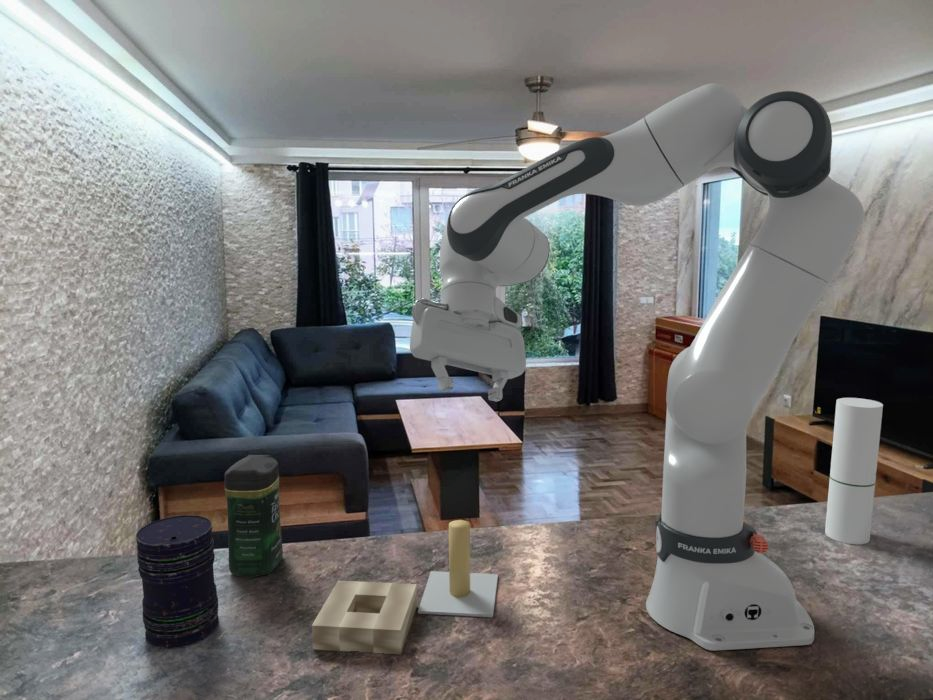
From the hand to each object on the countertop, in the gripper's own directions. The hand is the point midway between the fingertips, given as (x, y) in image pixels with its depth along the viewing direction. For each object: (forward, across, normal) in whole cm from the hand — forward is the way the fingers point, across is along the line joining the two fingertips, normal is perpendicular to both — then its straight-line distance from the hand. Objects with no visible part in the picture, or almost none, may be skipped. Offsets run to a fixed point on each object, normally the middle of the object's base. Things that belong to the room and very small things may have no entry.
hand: (471, 395), depth 103 cm
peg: (+27, +6, +12) cm, 31 cm away
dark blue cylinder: (+32, -29, +30) cm, 53 cm away
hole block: (+32, -8, +14) cm, 36 cm away
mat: (+28, +6, +12) cm, 31 cm away
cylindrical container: (+19, +73, -17) cm, 77 cm away
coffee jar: (+22, -16, +40) cm, 48 cm away
